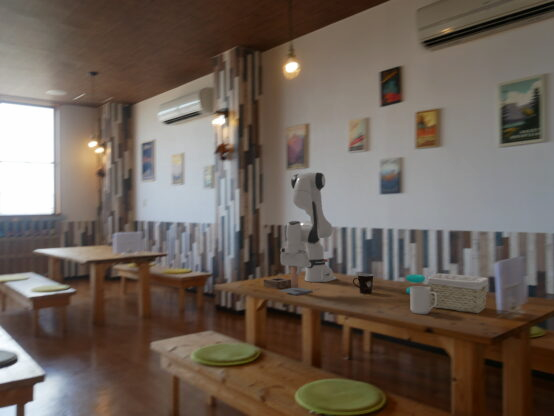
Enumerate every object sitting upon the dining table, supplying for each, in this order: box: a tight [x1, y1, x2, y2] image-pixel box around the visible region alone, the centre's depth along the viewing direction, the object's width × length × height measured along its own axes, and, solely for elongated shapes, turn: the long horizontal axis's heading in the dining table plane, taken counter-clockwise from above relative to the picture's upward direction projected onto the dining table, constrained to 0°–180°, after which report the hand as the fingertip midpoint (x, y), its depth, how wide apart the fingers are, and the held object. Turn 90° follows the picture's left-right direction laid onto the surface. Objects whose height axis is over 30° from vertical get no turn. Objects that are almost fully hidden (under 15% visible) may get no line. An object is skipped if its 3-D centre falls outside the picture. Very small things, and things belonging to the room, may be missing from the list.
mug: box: [409, 285, 437, 315], centre depth 204 cm, size 12×9×11 cm
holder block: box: [263, 277, 291, 290], centre depth 271 cm, size 12×12×5 cm
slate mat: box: [277, 287, 313, 297], centre depth 257 cm, size 14×14×1 cm
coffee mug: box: [352, 273, 374, 295], centre depth 252 cm, size 12×9×10 cm
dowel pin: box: [290, 266, 299, 288], centre depth 257 cm, size 4×4×12 cm
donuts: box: [405, 273, 426, 295], centre depth 247 cm, size 10×10×10 cm
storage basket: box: [427, 272, 489, 314], centre depth 212 cm, size 24×16×15 cm
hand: (294, 273), depth 257 cm, fingers closed on dowel pin, 4 cm apart
